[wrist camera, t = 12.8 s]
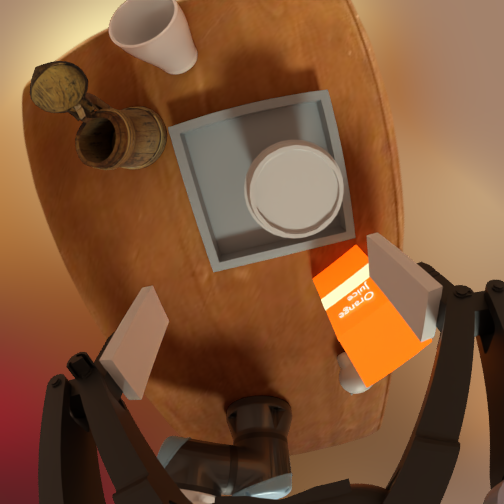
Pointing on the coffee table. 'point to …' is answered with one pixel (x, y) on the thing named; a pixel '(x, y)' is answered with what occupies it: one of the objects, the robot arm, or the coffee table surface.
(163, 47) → the drinking glass
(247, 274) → the coffee table surface
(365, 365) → the orange juice
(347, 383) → the round bodied animal figurine
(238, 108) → the tray
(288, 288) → the coffee table surface
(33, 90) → the wooden mug
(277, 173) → the disposable coffee cup
